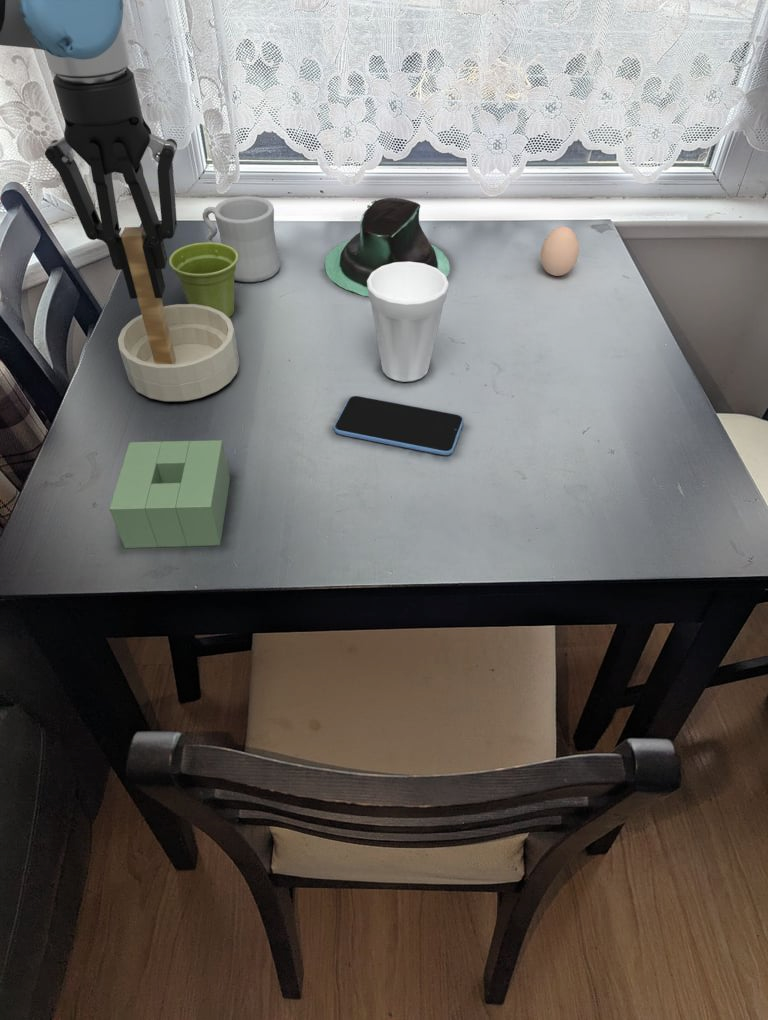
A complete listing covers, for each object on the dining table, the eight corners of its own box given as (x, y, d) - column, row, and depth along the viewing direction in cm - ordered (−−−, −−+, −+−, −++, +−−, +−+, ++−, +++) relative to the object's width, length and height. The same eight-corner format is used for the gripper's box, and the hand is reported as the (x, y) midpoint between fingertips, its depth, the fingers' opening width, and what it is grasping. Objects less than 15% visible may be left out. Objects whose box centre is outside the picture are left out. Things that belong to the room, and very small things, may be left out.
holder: (124, 548, 76) (108, 509, 72) (142, 481, 83) (129, 441, 79) (220, 545, 77) (210, 506, 72) (230, 479, 84) (222, 439, 79)
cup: (364, 391, 95) (363, 301, 85) (371, 347, 102) (370, 259, 92) (441, 394, 94) (448, 304, 85) (442, 350, 101) (449, 262, 92)
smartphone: (350, 393, 93) (465, 414, 90) (350, 398, 94) (464, 420, 91) (331, 429, 88) (452, 452, 85) (331, 434, 89) (451, 458, 86)
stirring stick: (156, 370, 94) (120, 236, 81) (159, 360, 95) (124, 227, 82) (173, 370, 94) (140, 235, 81) (176, 360, 95) (144, 226, 82)
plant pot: (210, 289, 112) (200, 235, 106) (258, 307, 109) (251, 252, 102) (167, 318, 107) (154, 262, 100) (217, 337, 103) (207, 281, 97)
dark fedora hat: (447, 299, 109) (315, 296, 110) (448, 296, 126) (334, 293, 128) (453, 190, 104) (314, 188, 106) (453, 203, 122) (334, 201, 123)
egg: (578, 282, 114) (588, 235, 109) (543, 284, 114) (551, 237, 108) (567, 263, 118) (577, 218, 113) (533, 266, 118) (540, 220, 112)
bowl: (158, 421, 91) (147, 381, 86) (112, 365, 98) (100, 327, 94) (259, 379, 97) (253, 340, 92) (208, 330, 104) (201, 292, 100)
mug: (291, 263, 118) (285, 201, 111) (262, 289, 112) (254, 226, 105) (225, 247, 121) (215, 187, 114) (194, 273, 116) (182, 211, 108)
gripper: (178, 58, 73) (216, 275, 90) (22, 59, 72) (90, 277, 89) (166, 82, 68) (208, 308, 85) (-2, 84, 67) (75, 310, 84)
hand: (148, 292), depth 87 cm, fingers closed on stirring stick, 2 cm apart
